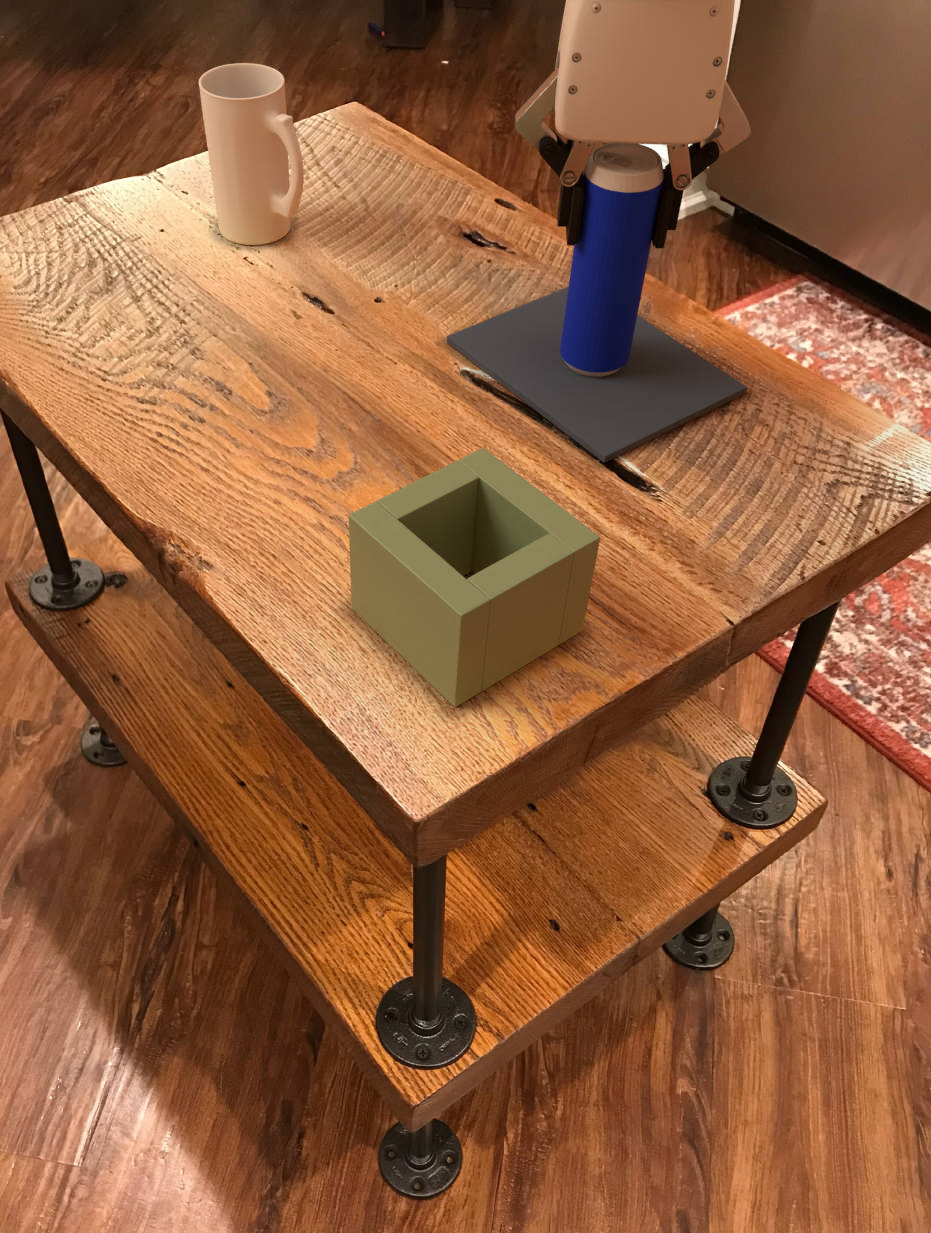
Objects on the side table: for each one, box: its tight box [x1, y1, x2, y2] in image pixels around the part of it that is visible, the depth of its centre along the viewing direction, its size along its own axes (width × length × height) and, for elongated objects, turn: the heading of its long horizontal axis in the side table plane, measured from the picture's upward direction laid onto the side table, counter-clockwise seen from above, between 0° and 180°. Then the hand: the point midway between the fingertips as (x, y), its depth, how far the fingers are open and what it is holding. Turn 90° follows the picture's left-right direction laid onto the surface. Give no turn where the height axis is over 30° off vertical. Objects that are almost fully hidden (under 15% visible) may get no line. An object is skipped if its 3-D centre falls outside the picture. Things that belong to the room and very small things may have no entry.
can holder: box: [348, 447, 601, 708], centre depth 67 cm, size 10×10×8 cm
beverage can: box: [560, 143, 664, 377], centre depth 80 cm, size 5×5×15 cm
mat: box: [446, 286, 748, 464], centre depth 86 cm, size 18×14×1 cm
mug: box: [198, 62, 305, 246], centre depth 94 cm, size 10×7×12 cm, turn 44°
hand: (614, 234), depth 78 cm, fingers closed on beverage can, 5 cm apart
